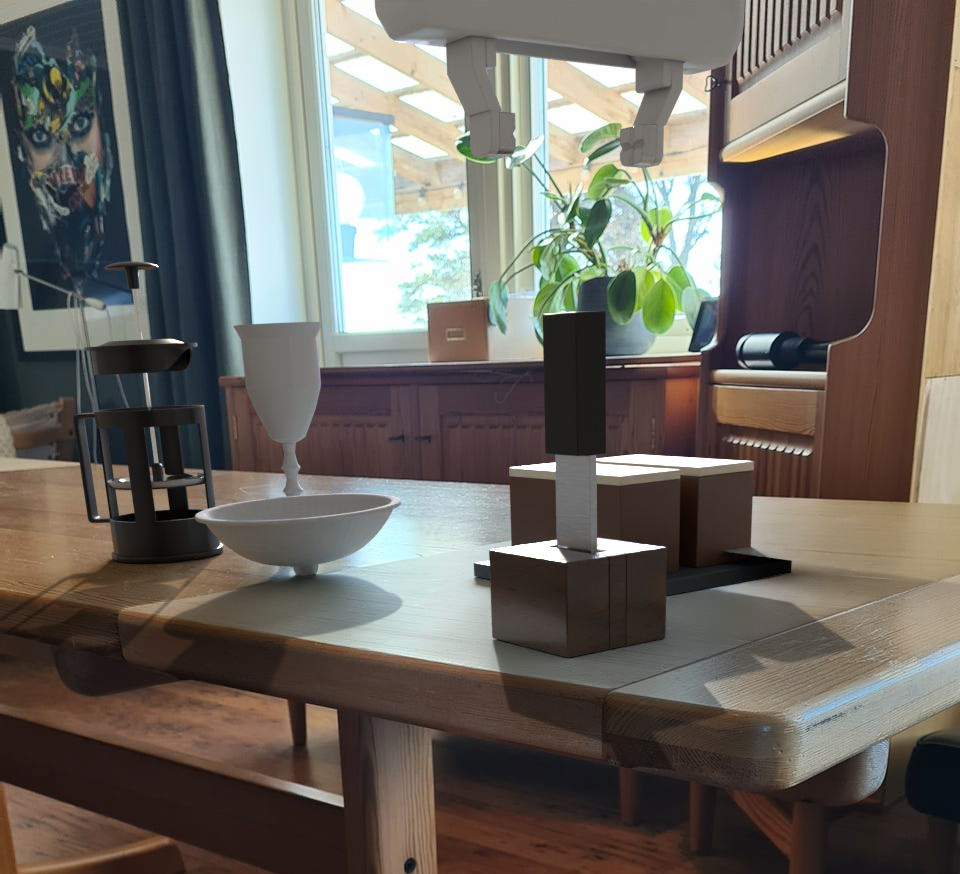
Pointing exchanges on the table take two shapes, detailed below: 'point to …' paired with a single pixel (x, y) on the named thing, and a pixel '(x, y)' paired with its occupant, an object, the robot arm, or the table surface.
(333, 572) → the table surface
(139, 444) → the french press
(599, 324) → the knife
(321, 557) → the dish
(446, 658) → the table surface
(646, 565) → the knife block
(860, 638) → the table surface
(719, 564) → the brown box set
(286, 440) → the chalice
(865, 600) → the table surface
